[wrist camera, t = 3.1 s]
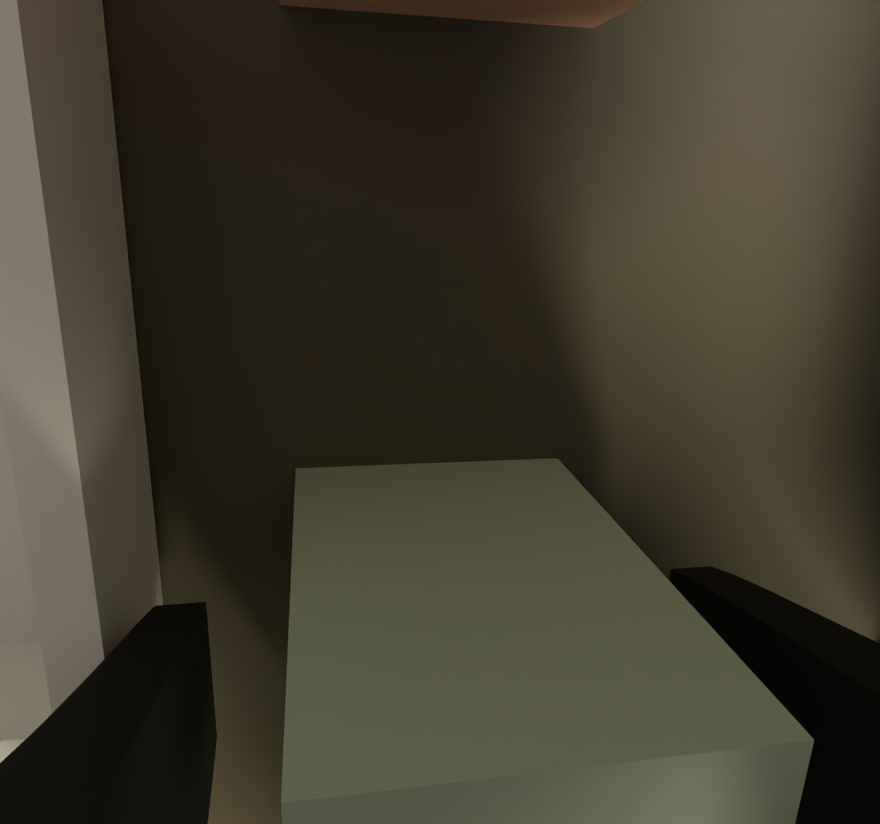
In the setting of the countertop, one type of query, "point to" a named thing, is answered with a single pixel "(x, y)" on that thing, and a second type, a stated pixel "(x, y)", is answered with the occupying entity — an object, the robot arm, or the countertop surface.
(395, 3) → the terracotta block
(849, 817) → the robot arm
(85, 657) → the off-white tray
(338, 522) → the sage green block
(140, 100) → the countertop surface
